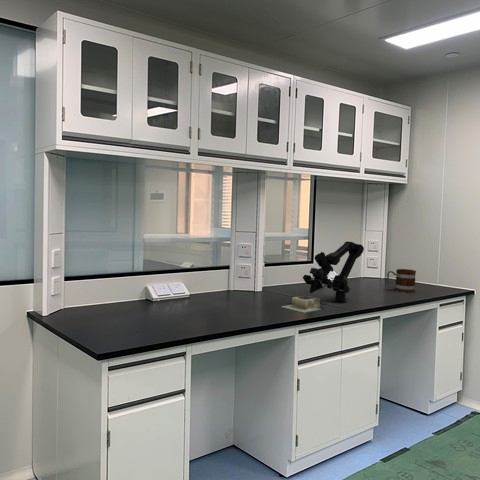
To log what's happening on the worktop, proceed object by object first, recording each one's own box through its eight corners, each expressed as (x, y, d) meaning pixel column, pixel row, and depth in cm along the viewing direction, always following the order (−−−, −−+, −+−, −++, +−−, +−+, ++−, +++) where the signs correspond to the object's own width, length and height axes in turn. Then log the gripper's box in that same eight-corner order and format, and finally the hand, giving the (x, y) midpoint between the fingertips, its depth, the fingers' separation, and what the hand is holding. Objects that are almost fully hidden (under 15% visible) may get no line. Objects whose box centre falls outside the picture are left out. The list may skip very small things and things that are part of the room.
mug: (412, 290, 339) (413, 269, 338) (417, 293, 326) (418, 272, 325) (384, 288, 341) (385, 268, 340) (388, 292, 328) (389, 270, 327)
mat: (299, 304, 274) (299, 303, 274) (321, 309, 262) (321, 308, 262) (281, 307, 264) (281, 306, 264) (303, 312, 252) (303, 312, 252)
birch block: (306, 295, 272) (292, 297, 264) (319, 298, 265) (306, 300, 257) (305, 304, 273) (291, 306, 265) (319, 307, 265) (305, 309, 257)
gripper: (305, 260, 276) (291, 280, 270) (331, 264, 262) (317, 286, 256) (313, 273, 282) (300, 293, 275) (339, 277, 268) (325, 298, 262)
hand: (310, 292), depth 267 cm, fingers closed
